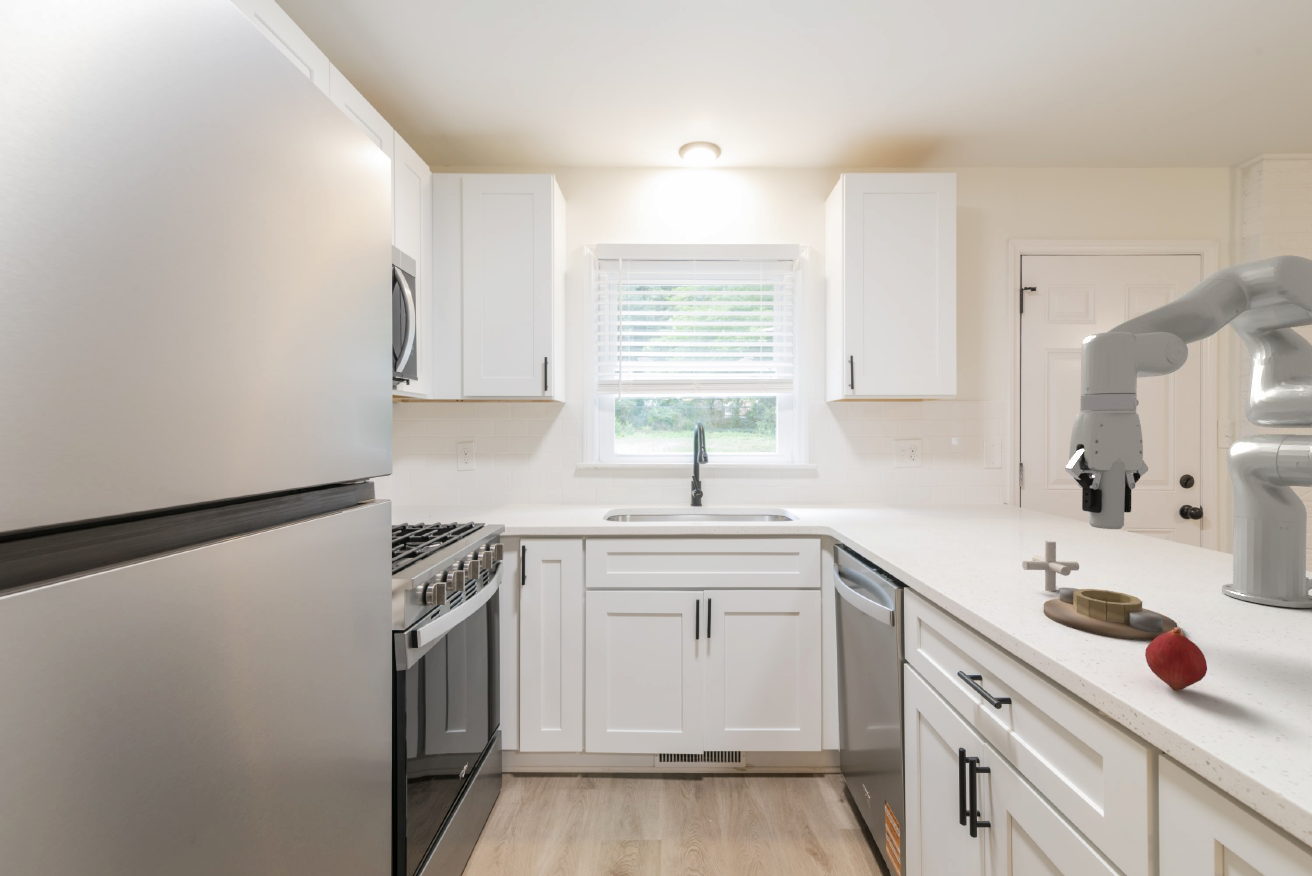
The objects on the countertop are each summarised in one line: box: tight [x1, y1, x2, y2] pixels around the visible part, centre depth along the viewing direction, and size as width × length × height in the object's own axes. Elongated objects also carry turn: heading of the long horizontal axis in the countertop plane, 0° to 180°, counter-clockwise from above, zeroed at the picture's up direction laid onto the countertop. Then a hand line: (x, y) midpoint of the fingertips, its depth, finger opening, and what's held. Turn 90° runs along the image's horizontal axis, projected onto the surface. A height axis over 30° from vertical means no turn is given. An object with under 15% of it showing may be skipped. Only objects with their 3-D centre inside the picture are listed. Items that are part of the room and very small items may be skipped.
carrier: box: [1043, 587, 1178, 641], centre depth 98 cm, size 18×18×4 cm
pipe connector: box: [1021, 540, 1080, 592], centre depth 116 cm, size 10×10×10 cm
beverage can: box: [1088, 458, 1125, 530], centre depth 97 cm, size 5×5×12 cm
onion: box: [1144, 627, 1208, 691], centre depth 72 cm, size 6×6×8 cm
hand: (1106, 510), depth 97 cm, fingers closed on beverage can, 4 cm apart
